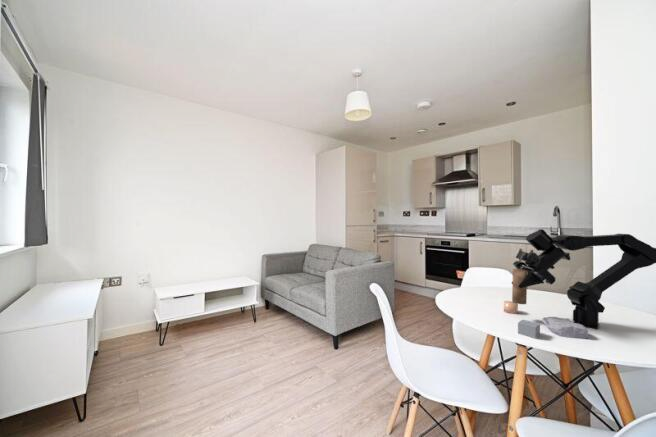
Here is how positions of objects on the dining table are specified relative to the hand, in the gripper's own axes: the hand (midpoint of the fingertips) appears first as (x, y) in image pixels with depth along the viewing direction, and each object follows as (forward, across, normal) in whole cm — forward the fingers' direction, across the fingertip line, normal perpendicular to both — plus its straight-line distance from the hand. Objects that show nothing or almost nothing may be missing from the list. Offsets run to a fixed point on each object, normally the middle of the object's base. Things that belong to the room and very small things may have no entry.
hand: (515, 285), depth 106 cm
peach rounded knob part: (+8, -9, +12) cm, 17 cm away
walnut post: (+4, 0, +6) cm, 7 cm away
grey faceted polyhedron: (+11, +14, +8) cm, 20 cm away
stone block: (+2, +8, +18) cm, 20 cm away
